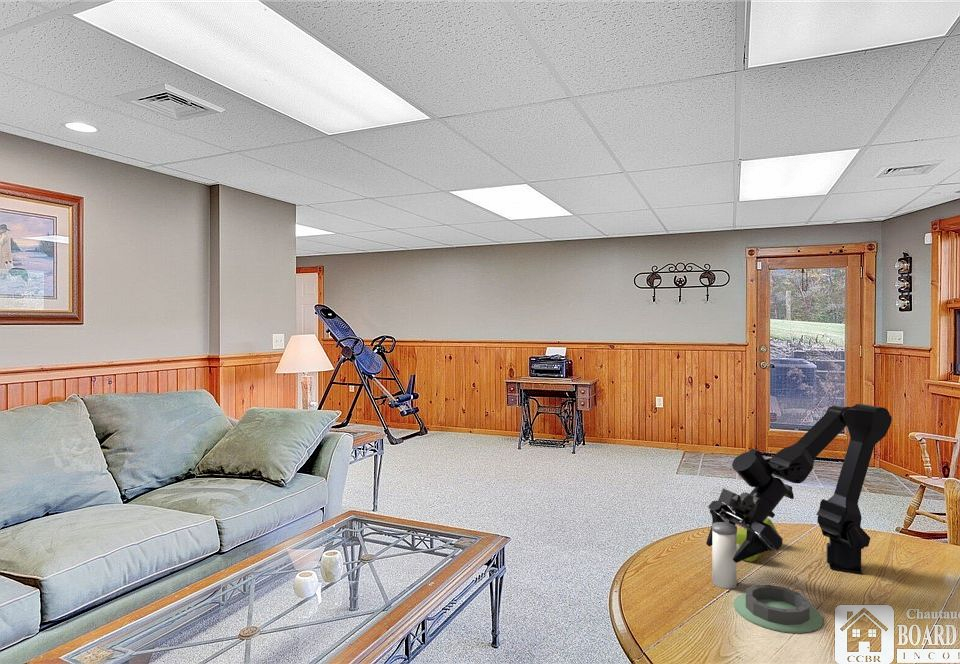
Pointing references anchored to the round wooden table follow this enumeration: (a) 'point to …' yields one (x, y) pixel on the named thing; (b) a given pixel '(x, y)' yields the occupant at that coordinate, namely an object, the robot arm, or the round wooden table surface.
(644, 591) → the round wooden table surface
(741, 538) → the dumbbell
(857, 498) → the robot arm
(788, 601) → the green round disc
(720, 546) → the white gray-capped cylinder
